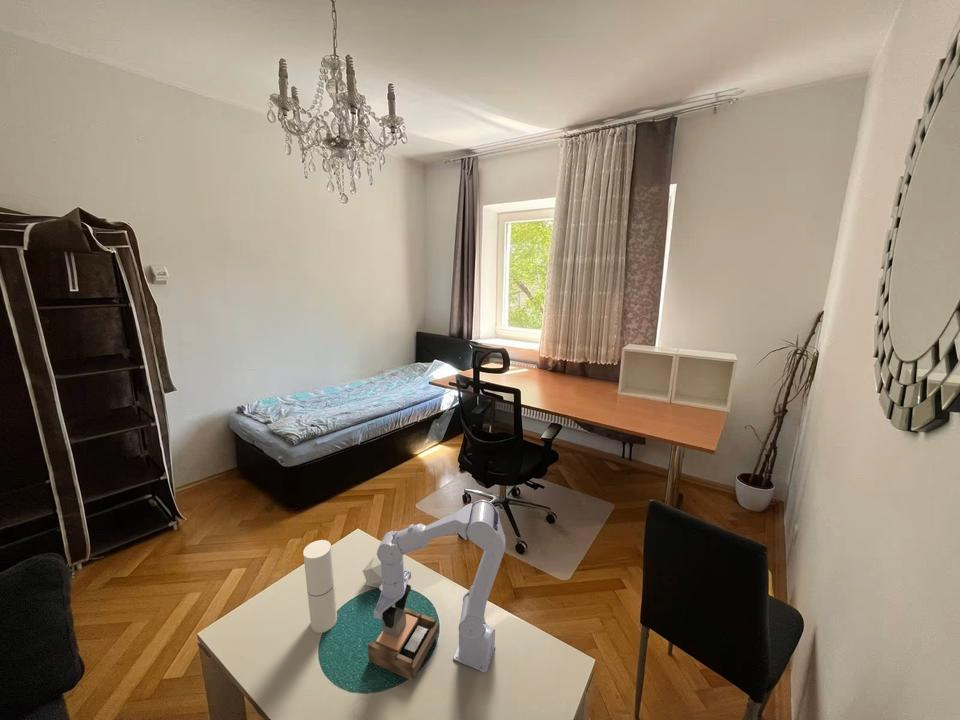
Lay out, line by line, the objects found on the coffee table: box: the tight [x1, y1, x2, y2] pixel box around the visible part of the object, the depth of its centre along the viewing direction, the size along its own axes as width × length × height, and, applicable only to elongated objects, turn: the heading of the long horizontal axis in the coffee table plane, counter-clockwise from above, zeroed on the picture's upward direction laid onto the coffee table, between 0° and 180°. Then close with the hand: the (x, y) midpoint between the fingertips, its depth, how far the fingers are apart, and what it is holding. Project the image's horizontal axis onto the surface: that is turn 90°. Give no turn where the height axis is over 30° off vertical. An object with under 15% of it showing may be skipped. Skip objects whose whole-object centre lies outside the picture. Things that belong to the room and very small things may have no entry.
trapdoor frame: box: [367, 607, 440, 681], centre depth 102 cm, size 14×13×6 cm
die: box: [362, 556, 382, 589], centre depth 124 cm, size 8×9×10 cm
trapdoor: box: [375, 614, 428, 659], centre depth 102 cm, size 11×10×2 cm
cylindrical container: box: [302, 539, 338, 634], centre depth 107 cm, size 7×7×25 cm
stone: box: [381, 604, 406, 638], centre depth 102 cm, size 4×4×4 cm
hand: (394, 618), depth 102 cm, fingers closed on stone, 4 cm apart
